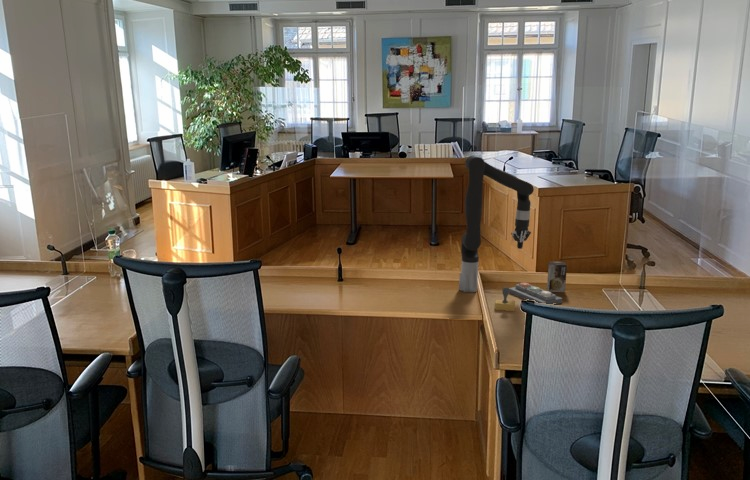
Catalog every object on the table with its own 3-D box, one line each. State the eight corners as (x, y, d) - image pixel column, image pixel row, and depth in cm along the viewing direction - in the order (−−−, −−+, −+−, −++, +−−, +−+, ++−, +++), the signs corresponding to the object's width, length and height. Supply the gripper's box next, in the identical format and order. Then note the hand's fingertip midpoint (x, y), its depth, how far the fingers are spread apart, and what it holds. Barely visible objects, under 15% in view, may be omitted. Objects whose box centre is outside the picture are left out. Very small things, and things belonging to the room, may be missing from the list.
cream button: (545, 299, 326) (546, 294, 326) (539, 296, 331) (539, 291, 330) (552, 297, 329) (553, 293, 328) (545, 294, 333) (546, 290, 332)
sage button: (535, 294, 333) (535, 290, 332) (528, 291, 337) (528, 287, 337) (541, 293, 336) (542, 288, 335) (535, 290, 340) (535, 286, 339)
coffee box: (562, 288, 352) (565, 261, 348) (565, 292, 345) (567, 265, 341) (546, 288, 353) (548, 261, 348) (548, 291, 346) (550, 264, 342)
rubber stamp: (494, 310, 318) (496, 287, 315) (495, 306, 324) (496, 284, 321) (514, 311, 316) (516, 289, 313) (514, 307, 322) (516, 285, 319)
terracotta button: (524, 290, 340) (524, 286, 339) (518, 287, 344) (518, 283, 343) (531, 288, 342) (531, 284, 342) (524, 286, 346) (525, 282, 346)
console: (542, 307, 323) (543, 299, 322) (508, 292, 345) (509, 284, 343) (561, 302, 330) (562, 294, 329) (527, 288, 351) (527, 281, 350)
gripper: (527, 215, 346) (524, 245, 351) (508, 217, 340) (506, 247, 344) (536, 218, 340) (533, 248, 344) (518, 220, 334) (515, 251, 338)
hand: (519, 248), depth 344 cm, fingers closed
